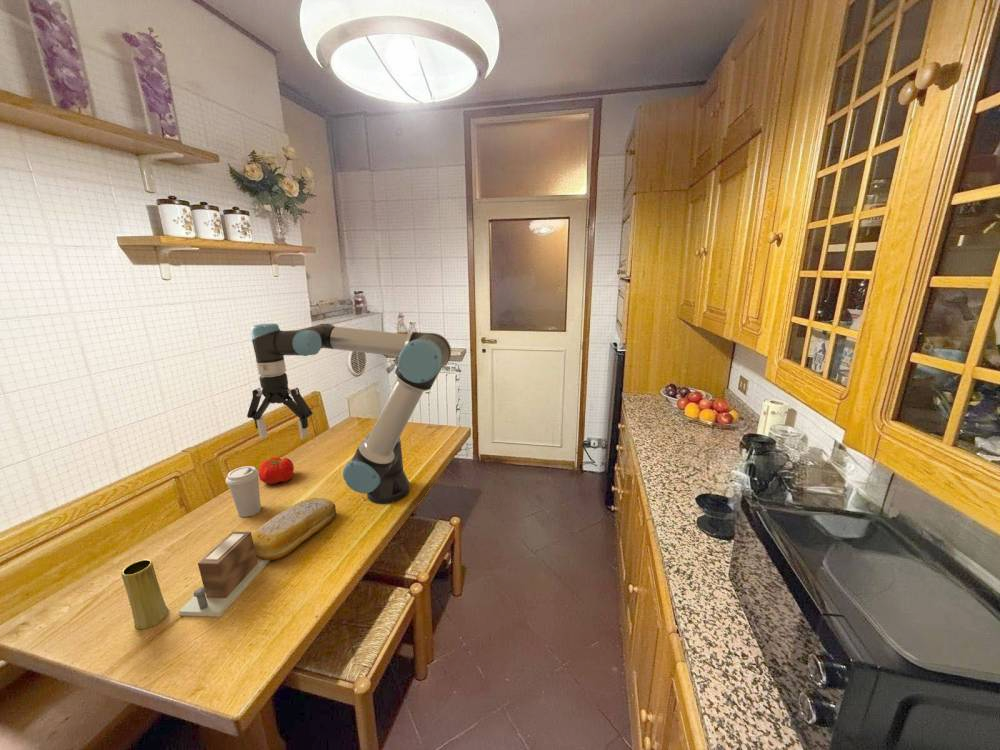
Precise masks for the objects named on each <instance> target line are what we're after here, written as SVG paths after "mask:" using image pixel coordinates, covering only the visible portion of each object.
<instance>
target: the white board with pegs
mask: <svg viewBox="0 0 1000 750" xmlns="http://www.w3.org/2000/svg"><path fill="white" fill-rule="evenodd" d="M256 558H257V563H258V564H257V565H256V566H255V567H254V568H253V569H252V570H251V571H250V573H249V574H248V575H247V576H246V577H245V578H244V579H243V580H242V581H241V582H240V583H239V585H238V586H237V587H236V588H235V589H234V590H233V591H232V592H231V593H230V594H229V596H228V597H227V598H206V594H205V593H206V588H205V587H204V586H202V587H200V588H197V589H196V590H194V591H193V593H192V594H193V597H192V598H191V599H190V600H189V601H188V602H187V603H186V604H185V605H184V606H183V607H182V608H180V609H179V610H178V613H179V616H183V617H184V616H185V617H187V616H188V617H213V618H214V617H216V618H218V617H219V618H220V617H221V616H222V615H223V614H224V613H225V612H226V611H227V610H228V608H230V606H232V604H233V603H234V601H235V600H237V598H238V597H239V596H240V595H241V593H242V592H244V591H245V589H246V588H247V587H248V586H249V585H250V583H252V581H254V579H255V578H256V577H257V576H258V575H259V573H260V572H261V571H262V570H263V569H264V568H265V567H266V566H267V565H268V563H269V562H270V561H271V560H265V559H264V560H262V559H260V558H258V557H257V556H256Z"/></svg>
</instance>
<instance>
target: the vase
mask: <svg viewBox="0 0 1000 750" xmlns="http://www.w3.org/2000/svg"><path fill="white" fill-rule="evenodd" d="M121 578H122V580H123V584H124V588H125V590H126V594H127V598H128V602H129V605H130V609H131V613H132V618H133V622H134V627H135V628H136V629H139V630H144V629H150V628H151V627H153V626H156V625H157V624H160V623H161V622H162V621H163V620H165V618H166V617H167V616H168V614H169V610H170V609H169V608H168V606H167V605H166V602H165V600H164V597H163V594H162V591H161V590H162V589H161V588H160V583H159V582H158V578H157V573H156V570H155V568H154V564H153V561H152V560H150V559H140V560H137V561H134V562H132V563H130V564H128V565H127V566H126V567H124V568H123V569H122V571H121Z"/></svg>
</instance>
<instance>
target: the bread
mask: <svg viewBox="0 0 1000 750" xmlns="http://www.w3.org/2000/svg"><path fill="white" fill-rule="evenodd" d="M336 507H337V506H336V504H335V503H334V502H333V501H331V500H329V499H325V498H323V497H322V498H321V497H310V498H308V499H305V500H302V501H299V502H298V503H295V504H292V505H291V506H289V507H287V508H286V509H285V510H283V511H281V512H280V513H278V514H276V515H274V516H273V517H272V518H270V519H269V520H268V521H267V522H265V523H264V524H263V525H261V526H260V527H259V528H258V529H256V530H255V531H254V532H253V533H252V534H251V535H252V539H253V544H254V549H255V553H256V556H257V557H258V558H260V559H262V560H264V559H265V560H270V561H272V560H278V559H281V558H284V557H285V556H286V555H287V556H288V554H289V553H291V552H293V551H295V549H296V548H297V547H298V546H300V545H301V544H302V543H303V542H305V541H306V540H307V539H309V538H310V537H311V536H312V535H314V534H315V533H317V532H319V531H320V530H322V529H323V528H324V527H325V526H327V525H328V524H329V523H330V522H332V520H333V519H335V517H336V516H337V515H336V514H337V509H336Z"/></svg>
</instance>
